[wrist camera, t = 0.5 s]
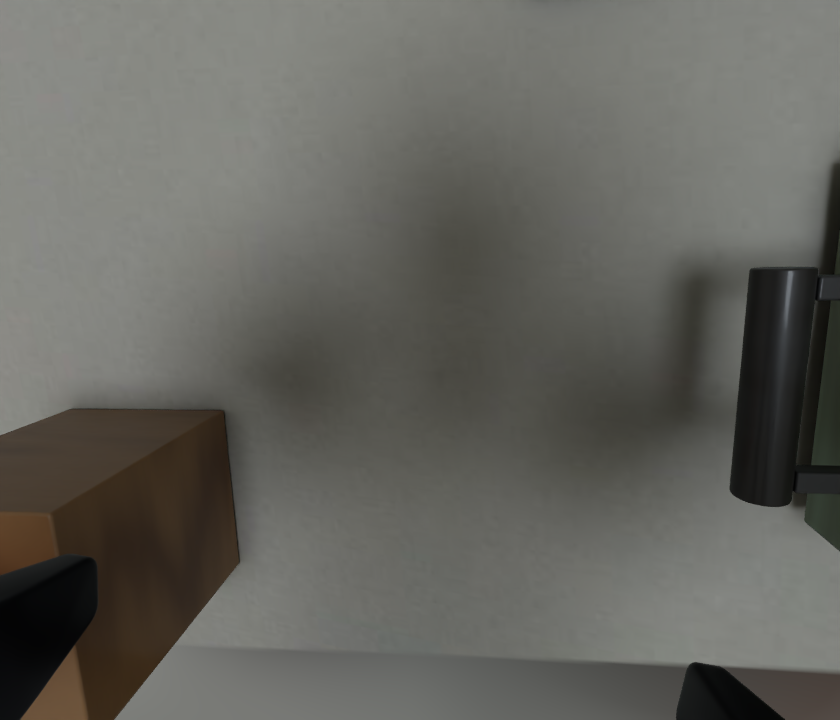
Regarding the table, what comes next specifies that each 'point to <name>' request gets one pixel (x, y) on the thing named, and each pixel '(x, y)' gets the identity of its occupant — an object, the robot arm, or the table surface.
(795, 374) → the drawer
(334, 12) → the table surface
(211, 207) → the table surface
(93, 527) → the block
